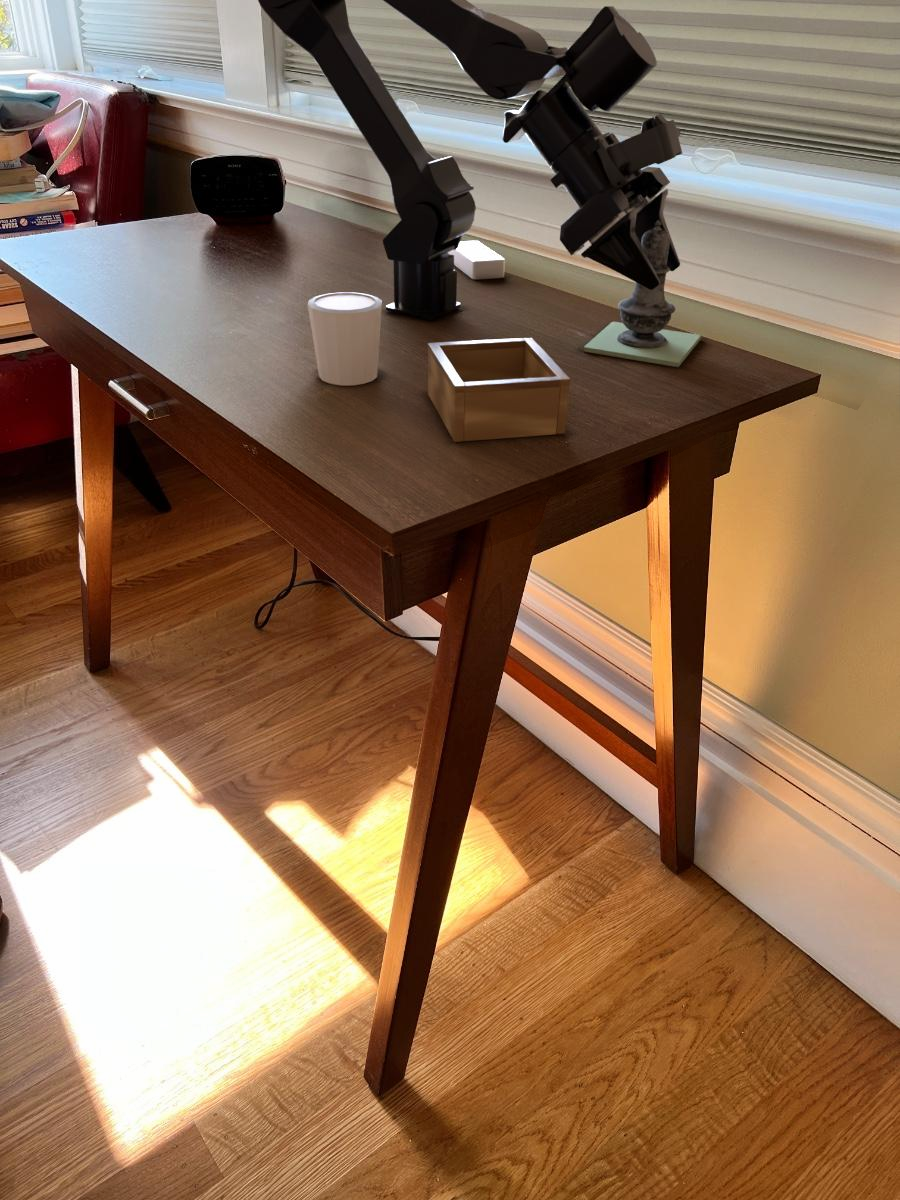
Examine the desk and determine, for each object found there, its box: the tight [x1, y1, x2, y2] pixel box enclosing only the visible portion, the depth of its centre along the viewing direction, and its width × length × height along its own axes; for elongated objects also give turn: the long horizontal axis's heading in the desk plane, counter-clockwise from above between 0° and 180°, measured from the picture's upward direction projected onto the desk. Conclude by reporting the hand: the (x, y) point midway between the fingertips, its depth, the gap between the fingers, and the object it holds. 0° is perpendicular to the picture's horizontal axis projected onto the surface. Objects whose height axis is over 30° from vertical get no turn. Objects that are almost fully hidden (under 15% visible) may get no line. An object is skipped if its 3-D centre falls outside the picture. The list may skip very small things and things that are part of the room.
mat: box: [582, 321, 702, 368], centre depth 96 cm, size 10×10×1 cm
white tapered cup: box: [307, 291, 383, 386], centre depth 85 cm, size 7×7×7 cm
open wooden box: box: [427, 337, 571, 443], centre depth 78 cm, size 11×10×5 cm
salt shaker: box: [617, 220, 676, 348], centre depth 92 cm, size 6×6×12 cm
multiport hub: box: [447, 240, 506, 280], centre depth 121 cm, size 4×11×2 cm, turn 18°
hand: (666, 277), depth 91 cm, fingers open, 8 cm apart
